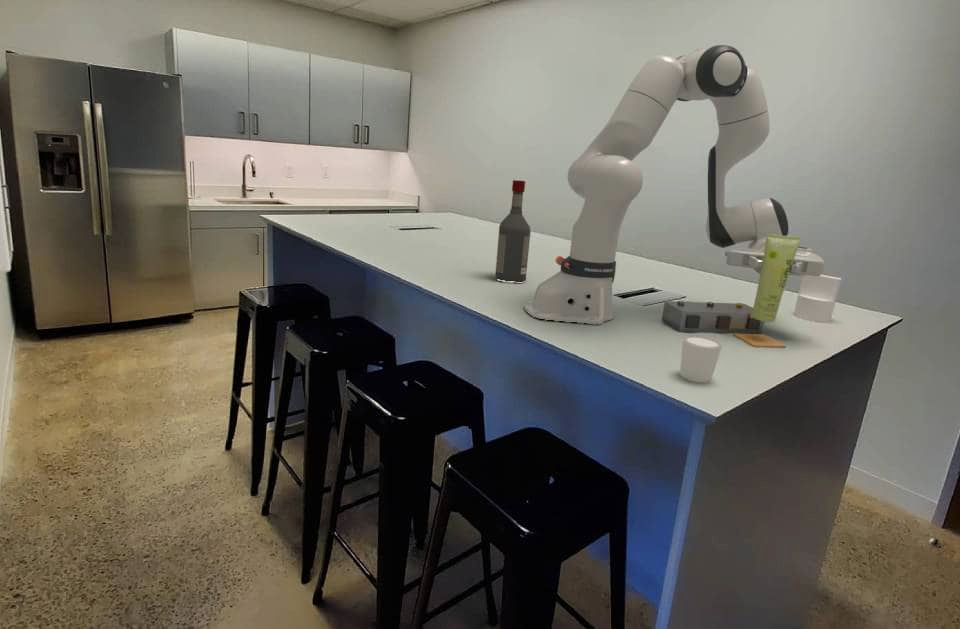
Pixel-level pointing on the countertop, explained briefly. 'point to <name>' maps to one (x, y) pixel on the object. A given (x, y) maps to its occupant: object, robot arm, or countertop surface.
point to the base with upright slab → (817, 298)
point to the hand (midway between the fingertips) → (776, 266)
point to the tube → (774, 275)
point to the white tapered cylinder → (699, 358)
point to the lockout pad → (759, 340)
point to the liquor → (513, 240)
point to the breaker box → (711, 317)
